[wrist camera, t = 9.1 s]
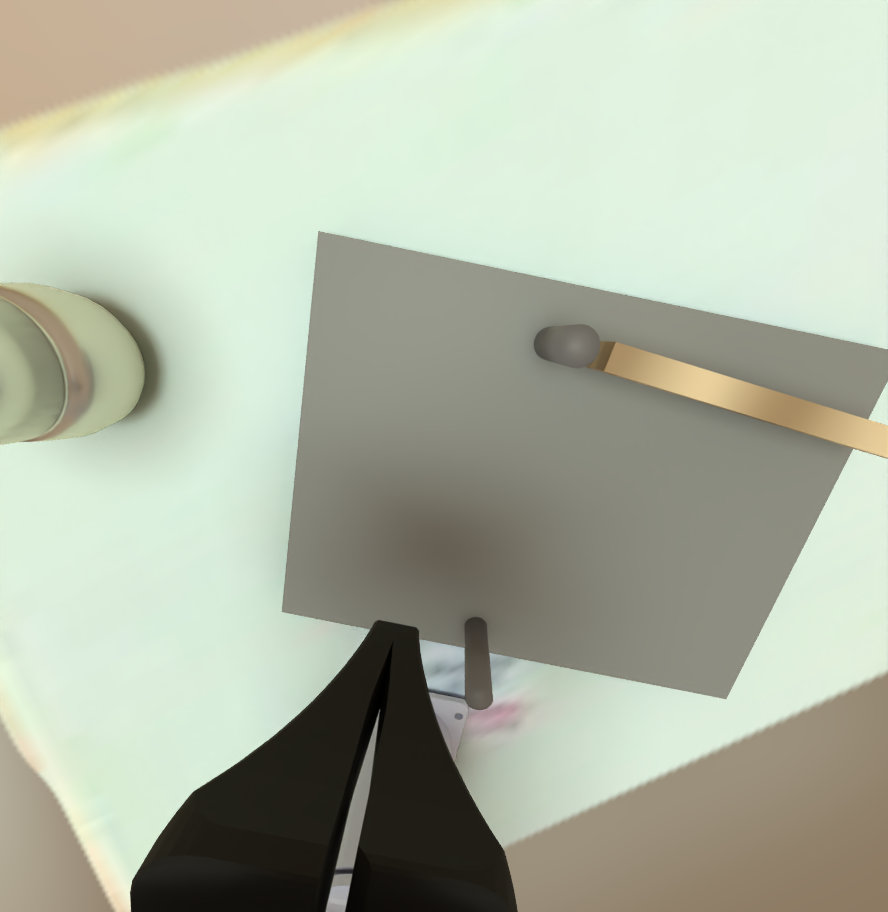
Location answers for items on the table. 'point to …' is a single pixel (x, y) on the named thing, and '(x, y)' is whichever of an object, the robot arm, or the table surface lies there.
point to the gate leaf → (741, 397)
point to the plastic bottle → (62, 365)
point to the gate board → (550, 470)
